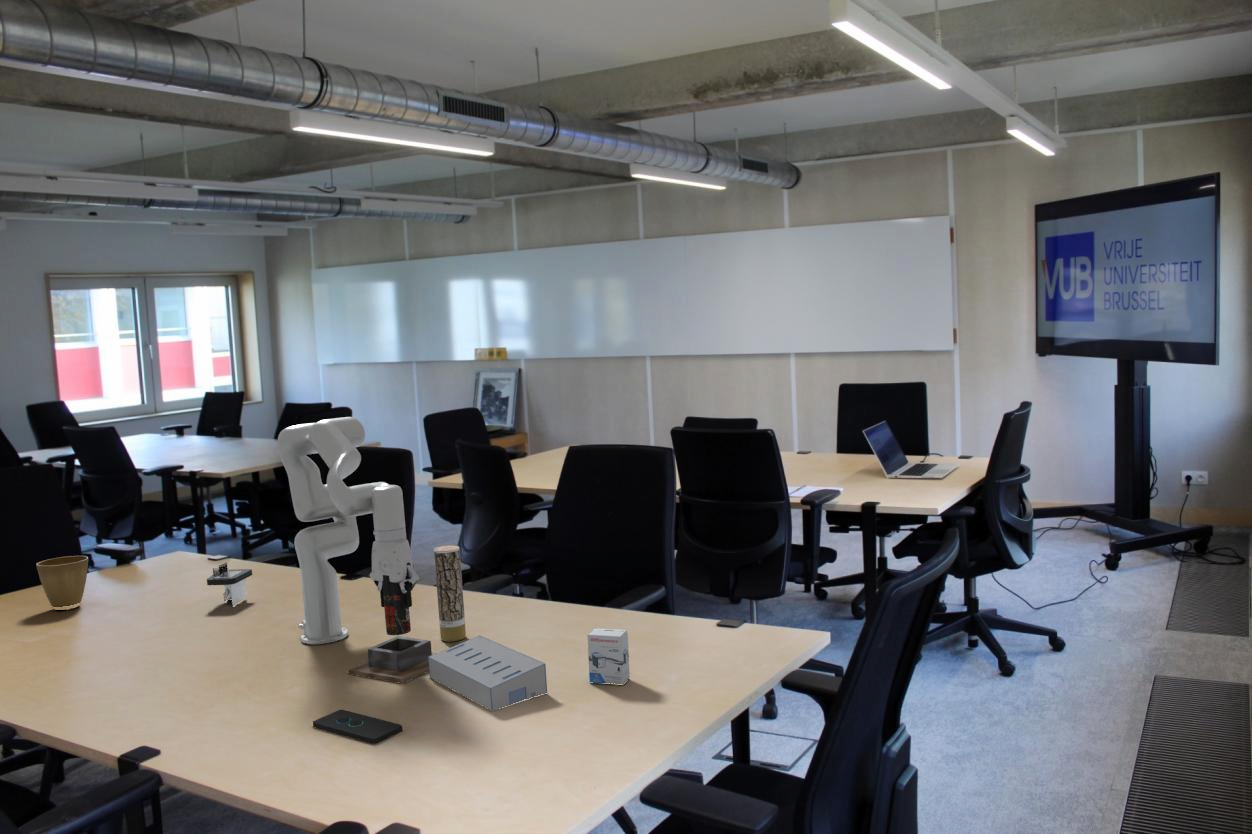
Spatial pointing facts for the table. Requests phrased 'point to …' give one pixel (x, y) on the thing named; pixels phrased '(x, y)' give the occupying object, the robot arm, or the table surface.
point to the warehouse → (489, 672)
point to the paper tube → (450, 593)
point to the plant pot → (63, 579)
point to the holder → (396, 660)
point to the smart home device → (358, 726)
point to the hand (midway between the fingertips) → (396, 605)
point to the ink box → (608, 656)
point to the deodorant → (394, 609)
